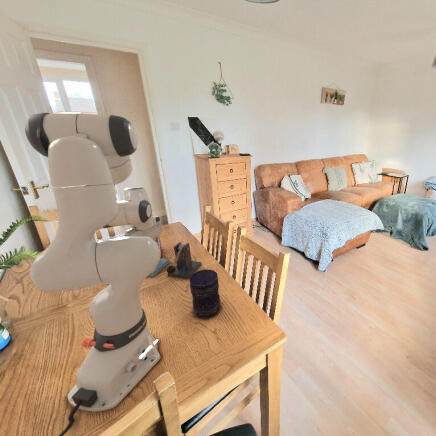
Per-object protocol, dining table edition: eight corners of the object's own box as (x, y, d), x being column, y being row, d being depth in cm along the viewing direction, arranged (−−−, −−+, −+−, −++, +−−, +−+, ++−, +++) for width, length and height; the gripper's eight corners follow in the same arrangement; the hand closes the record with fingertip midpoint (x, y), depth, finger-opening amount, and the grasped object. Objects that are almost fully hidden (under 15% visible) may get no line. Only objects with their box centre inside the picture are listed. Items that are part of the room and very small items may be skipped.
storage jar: (192, 304, 94) (187, 273, 88) (217, 297, 98) (214, 266, 92) (195, 322, 85) (190, 289, 80) (223, 314, 90) (220, 281, 84)
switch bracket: (188, 278, 108) (184, 252, 103) (168, 276, 109) (163, 250, 104) (201, 264, 119) (198, 239, 114) (182, 262, 120) (178, 237, 115)
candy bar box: (161, 258, 122) (156, 230, 116) (150, 260, 120) (144, 231, 114) (162, 248, 132) (157, 221, 125) (152, 250, 130) (146, 222, 123)
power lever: (174, 275, 103) (171, 272, 100) (167, 274, 103) (163, 271, 101) (188, 248, 112) (185, 243, 109) (181, 247, 112) (178, 243, 109)
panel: (153, 277, 108) (151, 269, 107) (133, 274, 109) (131, 267, 108) (169, 262, 119) (167, 256, 118) (150, 260, 120) (149, 253, 119)
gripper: (130, 233, 95) (137, 263, 100) (163, 215, 114) (167, 241, 119) (116, 231, 96) (124, 261, 101) (151, 214, 115) (156, 239, 120)
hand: (147, 250), depth 110 cm, fingers closed
